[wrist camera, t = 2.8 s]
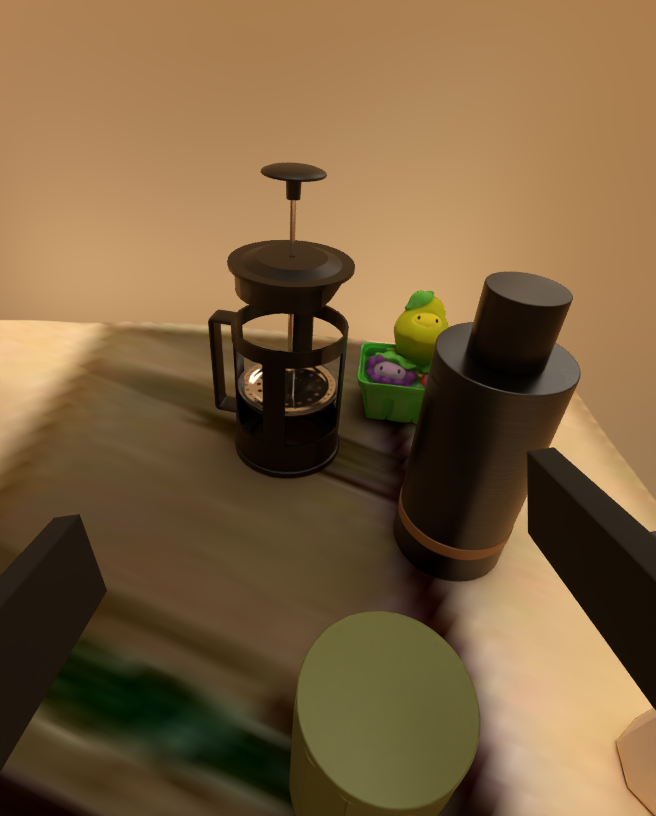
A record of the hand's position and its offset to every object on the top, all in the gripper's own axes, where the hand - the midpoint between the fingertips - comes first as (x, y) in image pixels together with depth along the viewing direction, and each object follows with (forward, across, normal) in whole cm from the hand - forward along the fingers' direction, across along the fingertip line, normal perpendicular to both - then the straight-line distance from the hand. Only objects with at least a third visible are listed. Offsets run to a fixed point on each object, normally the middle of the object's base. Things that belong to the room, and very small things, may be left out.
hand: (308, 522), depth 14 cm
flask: (+19, +8, -15) cm, 26 cm away
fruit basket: (+35, +8, -10) cm, 38 cm away
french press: (+29, -4, -9) cm, 31 cm away
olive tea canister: (+4, 0, -18) cm, 19 cm away
